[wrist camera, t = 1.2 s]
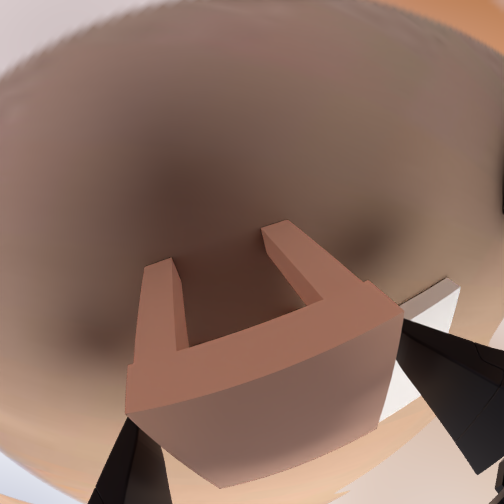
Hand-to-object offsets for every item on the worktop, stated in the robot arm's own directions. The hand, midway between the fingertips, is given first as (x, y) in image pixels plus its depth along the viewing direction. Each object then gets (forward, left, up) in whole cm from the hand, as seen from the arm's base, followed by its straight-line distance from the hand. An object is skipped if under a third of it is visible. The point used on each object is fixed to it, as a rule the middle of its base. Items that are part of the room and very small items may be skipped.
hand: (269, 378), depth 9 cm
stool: (0, 0, -5) cm, 5 cm away
